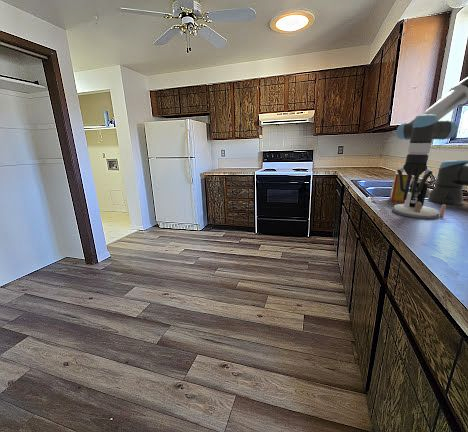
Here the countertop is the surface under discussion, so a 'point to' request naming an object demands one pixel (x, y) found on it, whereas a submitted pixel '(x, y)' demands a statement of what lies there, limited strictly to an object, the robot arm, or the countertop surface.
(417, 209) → the disc
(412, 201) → the beverage can
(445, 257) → the countertop surface
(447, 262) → the countertop surface
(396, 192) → the baking soda box
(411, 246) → the countertop surface
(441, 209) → the base
